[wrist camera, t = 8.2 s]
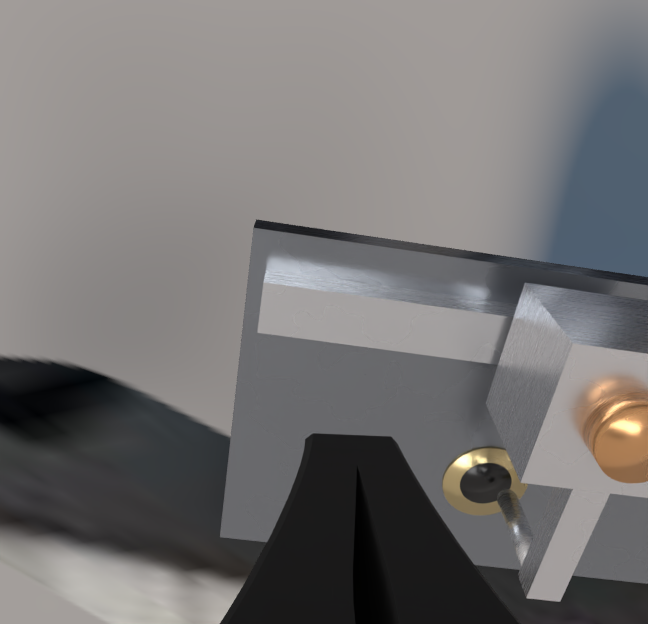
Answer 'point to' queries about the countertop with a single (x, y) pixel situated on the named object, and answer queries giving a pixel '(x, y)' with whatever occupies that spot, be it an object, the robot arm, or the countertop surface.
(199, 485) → the countertop surface
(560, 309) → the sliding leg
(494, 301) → the aluminium mounting plate
